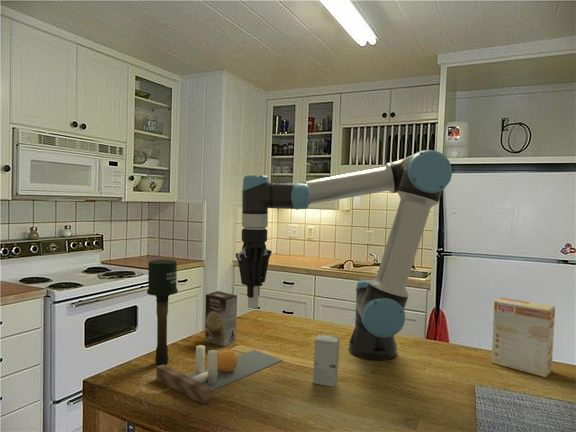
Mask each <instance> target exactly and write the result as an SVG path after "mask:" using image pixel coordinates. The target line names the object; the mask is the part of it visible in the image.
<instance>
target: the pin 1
mask: <svg viewBox="0 0 576 432" xmlns="http://www.w3.org/2000/svg"><path fill="white" fill-rule="evenodd" d="M205 364H206V346H205V345H202V344H200V345H196V346H195V372H196V375H199V374H201V373H204V372H205V368H206V367H205Z"/></svg>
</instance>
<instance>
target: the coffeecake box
mask: <svg viewBox="0 0 576 432" xmlns="http://www.w3.org/2000/svg"><path fill="white" fill-rule="evenodd" d="M555 314H556V305H555V306H554V305H549V304H542V303H538V302H537V303H536V302H531V301H525V300H519V299H513V298H508V297H507V298H506V297H500V298H498V299H495V300H494V303H493V323H492V324H493V325H492V346H491V364H495V365H499V366H502V367H506V368H510V369H514V370H517V371H521V372H525V373H529V374H532V375H536V376H539V377H543V378H547V377H548V376H549V375H550V374H551V372H552V370H553V369H552V367H553V355H554V354H553V352H554V333H555V316H556V315H555Z"/></svg>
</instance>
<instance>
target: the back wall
mask: <svg viewBox="0 0 576 432" xmlns="http://www.w3.org/2000/svg"><path fill="white" fill-rule="evenodd" d="M155 369H156V370H155V371H156V372H155V377H156V380H157V381H158V382H160V383H162V384H164V385H166V386H167V387H170V388H171V389H174V390H175V391H178V393H180V394H183V395H184V396H186V397H188V398H191V399H193V400H194V401H196V402H198V403H200V404H202V405H203V406H204V405H207V404H209V403H211V399H212V397H211V396H212V395H211V393H212V391H211V387H209V386H206V385H204V384H202V383H200V382H198V381H196V380H194V379H192V378H190V377H188V376H186V375H187V374H186V375H185V374H183V373H181V372H179V371H177V370H175V369H174V368H171V367H169V366H167V365H157V366H156V368H155Z"/></svg>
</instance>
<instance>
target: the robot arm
mask: <svg viewBox="0 0 576 432" xmlns="http://www.w3.org/2000/svg"><path fill="white" fill-rule="evenodd" d="M452 175H453V167H452V164H451V162H450V160H449V159H448V157H446V156H445V155H444V154H443V153H442V152H440V151H437V150H432V149H423V150H419V151H418V152H416V153H414V154H412V155H411V154H410V155H409V156H407V157H405V158H402V159H399V160H396V161H391V162H387V163H386V164H385V165H384V166H383V167H376V168H372V169H365V170H361V171H355V172H350V173H343V174H338V175H333V176H328V177H323V178H317V179H315V178H314V179H310V180H306V181H305V180H304V181H300V182H271V181H270V180H269V176H268V175H255V174H253V175H252V174H248V175H245V176H244V177H243V178H242V179H243V180H242V191H241V194H242V199H241V201H242V203H241V204H242V205H241V208H242V211H241V226H242V227H243V228H242V229H241V241H242V243H243V245H242V247H241V251H240V252H236V253H235V258H236V260H237V263H238V270H239V275H240V280H241V281H240V282H241V285H244V286H246V289H247V290H246V296H247V298H248V299H247V307H248V308H249V309H253V310H257V309H259V296H260V287H262V286H263V283H265V282H266V277H267V273H268V266H269V262H270V261H269V260H270V257H271V256H272V250H271V249H270V250H269V249H268V248H267V246H266V242H267V241H268V229H267V227H268V226H269V220H268V218H269V217H268V215H269V212H268V211H269V209H284V210H297V211H298V210H306V209H308V208H309V205H315V204H319V203H325V202H331V201H336V200H342V199H348V198H353V197H358V196H364V195H371V194H377V193H382V192H389V193H391V194H395V193H397V194H398V196H399V198H400V201H399V203H398V206H397V210H396V214H395V217H394V220H393V223H392V226H391V230H390V232H389V235H388V239H387V242H386V245H385V249H384V251H383V255H382V258H381V261H380V264H379V268H378V270H377V273H376V277H375V278H373V279H367V280H365V279H364V280H362V279H361V280H358V281H357V282H356V288H355V292H356V295H355V318H354V319H355V322H354V329H353V331H352V333H351V337H350V339H349V342H348V350H349V352H350V353H351V354H352V355H354V356H356V357H359V358H363V359H367V360H373V361H374V360H375V361H376V360H378V361H382V360H383V361H384V360H389V359H390V360H391V359H392V358H394V357H396V356H397V349H398V347H397V346H398V345H397V343H396V339H395V336H396V335H397V334H398V333H399V332H401V330H402V329H403V328H404V325H405V322H406V313H405V309H406V304H407V303H408V299H409V296H410V295H409V293H408V291H407V289H406V286H407V284H408V279H409V277H410V275H411V270H412V267H413V265H414V261H415V258H416V255H417V253H418V249H419V246H420V243H421V239H422V237H423V233H424V230H425V227H426V224H427V221H428V217H429V215H430V210H431V208H433V207H434V206H437V205H438V204H439V202H440V199H441V196H442V193H443V190H445V188H446V187H447V186H448V185H449V184H450V182H451V180H452Z"/></svg>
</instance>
